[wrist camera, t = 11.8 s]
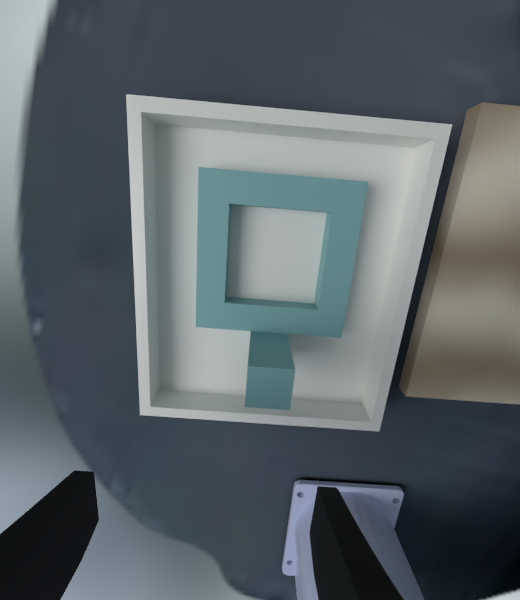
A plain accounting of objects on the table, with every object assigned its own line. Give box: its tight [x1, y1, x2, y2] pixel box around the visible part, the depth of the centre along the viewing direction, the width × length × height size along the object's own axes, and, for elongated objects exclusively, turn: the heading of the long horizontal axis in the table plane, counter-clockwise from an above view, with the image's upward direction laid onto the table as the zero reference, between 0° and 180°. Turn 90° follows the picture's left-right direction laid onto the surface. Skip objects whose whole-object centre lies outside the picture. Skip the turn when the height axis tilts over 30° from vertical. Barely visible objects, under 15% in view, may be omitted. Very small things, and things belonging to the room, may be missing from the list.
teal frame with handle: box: [196, 167, 368, 410], centre depth 13 cm, size 10×8×5 cm
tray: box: [126, 94, 452, 431], centre depth 16 cm, size 16×14×2 cm
